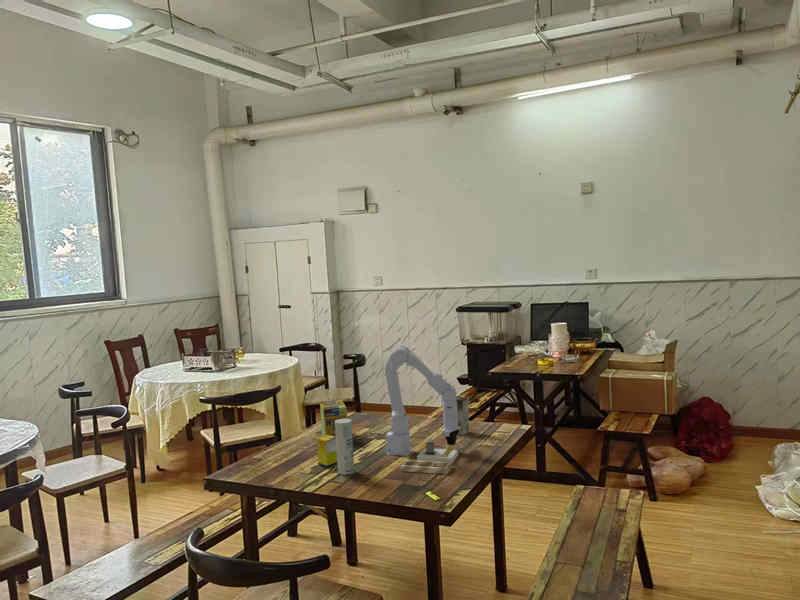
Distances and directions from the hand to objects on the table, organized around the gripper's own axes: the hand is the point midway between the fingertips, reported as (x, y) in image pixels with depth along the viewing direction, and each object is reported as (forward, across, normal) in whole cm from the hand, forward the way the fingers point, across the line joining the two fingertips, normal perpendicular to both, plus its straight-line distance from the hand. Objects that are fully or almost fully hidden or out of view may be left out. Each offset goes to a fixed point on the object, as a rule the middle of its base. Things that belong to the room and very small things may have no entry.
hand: (451, 448), depth 253 cm
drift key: (+1, -7, 0) cm, 7 cm away
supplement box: (+2, -22, +46) cm, 51 cm away
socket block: (+2, -9, +4) cm, 10 cm away
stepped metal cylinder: (+1, -9, +6) cm, 11 cm away
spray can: (+2, -29, +34) cm, 45 cm away
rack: (+2, -22, +4) cm, 23 cm away
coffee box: (+2, +28, +4) cm, 28 cm away
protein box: (+2, +12, +58) cm, 60 cm away
